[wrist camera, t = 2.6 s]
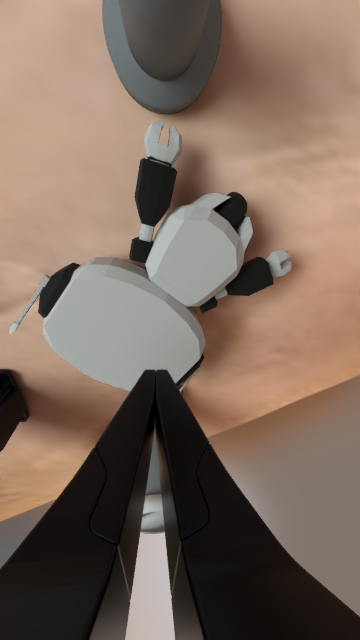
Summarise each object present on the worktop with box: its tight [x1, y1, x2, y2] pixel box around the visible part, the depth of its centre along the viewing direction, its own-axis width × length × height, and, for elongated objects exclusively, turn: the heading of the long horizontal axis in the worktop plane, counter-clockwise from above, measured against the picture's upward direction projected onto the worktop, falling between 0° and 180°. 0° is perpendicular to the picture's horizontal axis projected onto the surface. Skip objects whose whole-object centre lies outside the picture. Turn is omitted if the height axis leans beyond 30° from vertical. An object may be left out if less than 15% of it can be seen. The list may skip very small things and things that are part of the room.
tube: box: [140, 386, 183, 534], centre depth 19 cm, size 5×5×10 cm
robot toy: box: [9, 121, 292, 392], centre depth 15 cm, size 12×4×15 cm
